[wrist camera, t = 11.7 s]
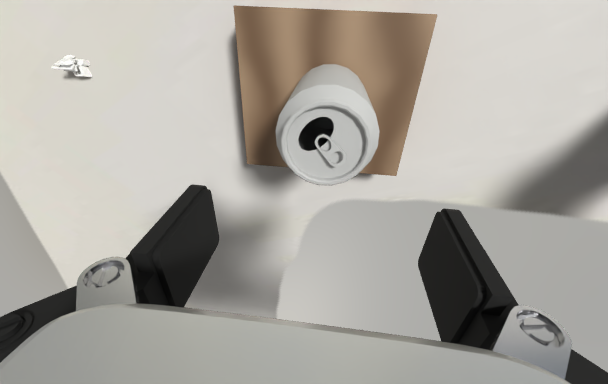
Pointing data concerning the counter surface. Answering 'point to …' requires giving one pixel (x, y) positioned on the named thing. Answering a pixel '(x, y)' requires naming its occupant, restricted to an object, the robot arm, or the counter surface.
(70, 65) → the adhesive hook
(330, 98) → the can
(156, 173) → the counter surface
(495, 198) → the counter surface
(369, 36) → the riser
